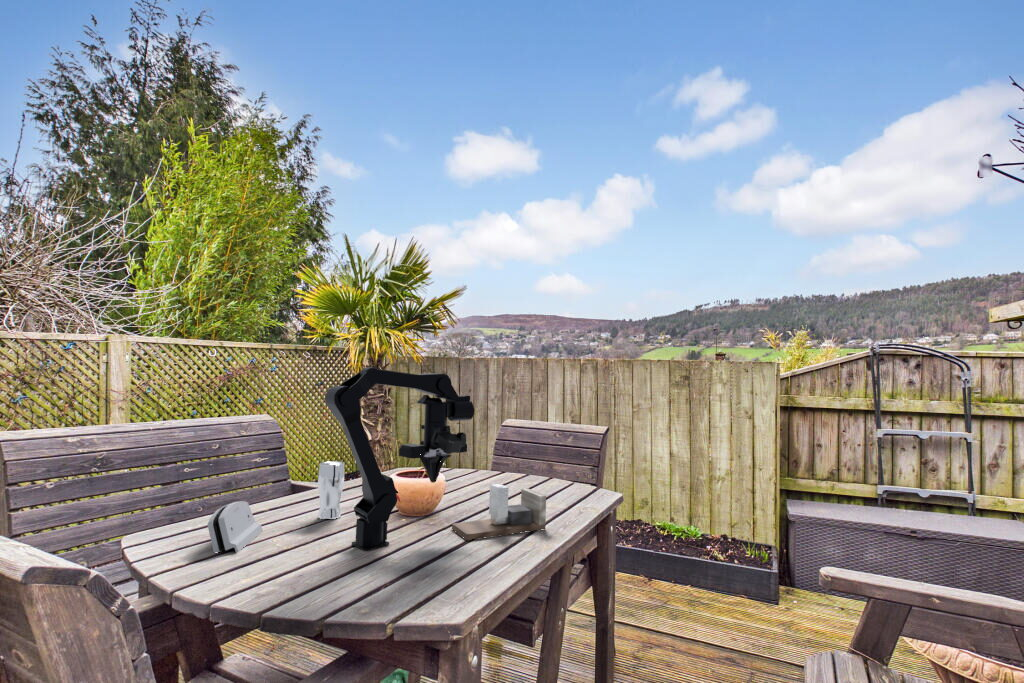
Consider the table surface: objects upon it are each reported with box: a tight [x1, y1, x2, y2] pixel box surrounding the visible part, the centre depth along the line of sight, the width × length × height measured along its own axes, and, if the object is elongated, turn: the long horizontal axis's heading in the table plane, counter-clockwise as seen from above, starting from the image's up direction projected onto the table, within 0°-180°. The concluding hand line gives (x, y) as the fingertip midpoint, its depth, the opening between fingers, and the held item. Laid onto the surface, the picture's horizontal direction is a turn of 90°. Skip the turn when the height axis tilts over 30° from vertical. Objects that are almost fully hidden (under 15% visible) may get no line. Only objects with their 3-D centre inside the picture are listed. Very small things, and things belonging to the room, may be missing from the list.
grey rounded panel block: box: [207, 500, 264, 553], centre depth 120 cm, size 17×5×10 cm, turn 8°
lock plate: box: [451, 487, 547, 541], centre depth 136 cm, size 23×10×9 cm, turn 119°
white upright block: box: [317, 460, 345, 520], centre depth 143 cm, size 7×7×15 cm
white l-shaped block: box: [488, 483, 509, 525], centre depth 138 cm, size 10×5×10 cm, turn 119°
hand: (433, 482), depth 131 cm, fingers closed
